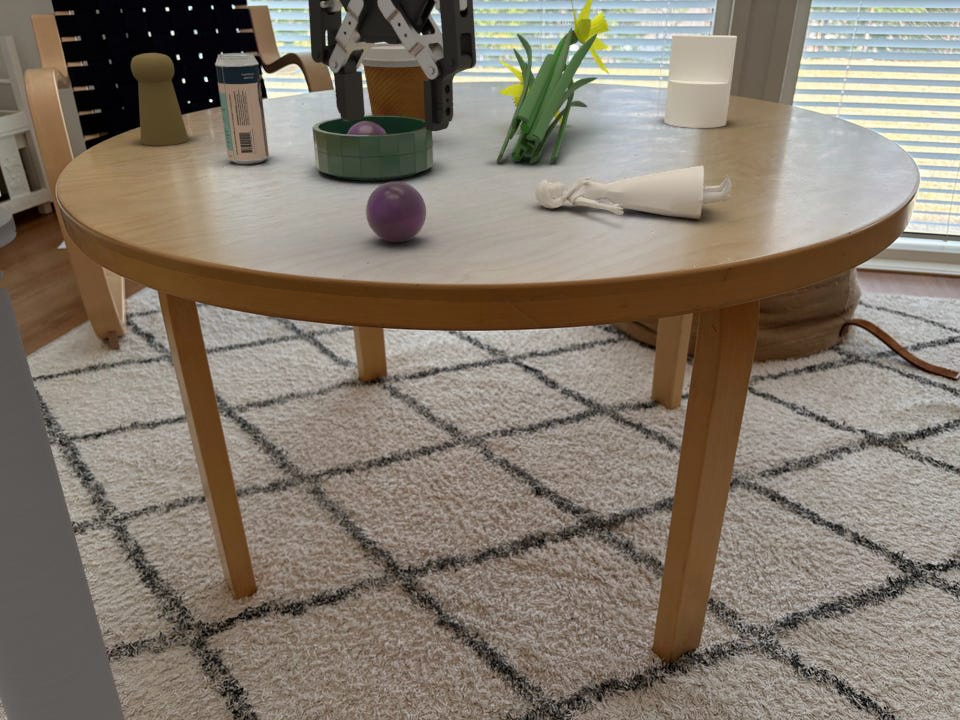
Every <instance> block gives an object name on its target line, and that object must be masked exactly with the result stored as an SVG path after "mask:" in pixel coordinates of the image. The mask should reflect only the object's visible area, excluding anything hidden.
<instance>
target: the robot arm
mask: <svg viewBox="0 0 960 720" xmlns="http://www.w3.org/2000/svg"><path fill="white" fill-rule="evenodd" d="M307 2H308V17H309V18H308V19H309V37H310V56H311V59H312V61H313V62H314V63H316V64H320V63H322V64H323V65H324V66H327V67H328V68H329V69H330V71H331V72H332V74H333V80H334V92H335V102H336V108H337V112H338V113H339V115H340V118H341V119H342V120H343V121H349V122H352V121H356V120H361V119H363V118H364V116H366V114H365V113H366V112H365V99H364V85H363V84H364V83H363V82H364V81H363V71H359V70H358V69H360V67H361V65H362V61H363V58H364V56H365V54H366V52H367V51H368V50H369V49H370V48H371V47H373V45H374V44H381V43H388V44H403V45H404V47H405V49H406V50H407V52H408V53H409V54H411V55H413V56H414V57H415V58H416V60H417V61H418V63H419V65H420V66H421V68H422V70H423V71H424V73H425V75H426V76H427V77H428V80H424V81H423V85H424V110H425V127H426V129H427V130H428V131H432V132H440V131H443V130H446V129H448V127H449V125H450V123H451V122H453V121H452V120H453V119H454V118H453V117H454V90H453V89H454V87H453V86H454V85H453V84H454V83H453V81H454V77H455V76H456V75H457V74H458V73H459V74H460V73H461V72H464V71H466V70H470V69H473V68H474V67H475V66H476V65H477V50H476V49H477V47H476V46H477V45H476V34H475V33H476V32H475V15H474V0H308V1H307ZM342 8H343V9H344V11H345V16H344V18H343V20H342ZM434 8H435V10H436V11H437V12H438V13H439V15H440V26H441V27H440V28H441V30H440V28H439V27H438V24H437V23H436V21H435V19H434V18H433V16H432V15H431V13H432V12H433V10H434ZM326 38H327V39H326Z"/></svg>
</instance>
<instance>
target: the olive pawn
mask: <svg viewBox="0 0 960 720" xmlns="http://www.w3.org/2000/svg"><path fill="white" fill-rule="evenodd" d="M130 70H131V73H132V75H133V77H134V78H135V80H136V81H137V83H138V84H137V86H138V107H139V108H138V109H139V129H140V131H139V132H140V143H141V144H142V145H145V146H158V147H159V146H171V145H172V146H173V145H180V144H182V143H186V142H188V141H190V139H189V136H188V132H187V129H186V125H185V122H184V119H183V115H182V112H181V108H180V103H179V101H178V98H177V94H176V91H175V87H174V84H173V81H172V80H173V78H174V76H175V65H174V62H173V60H172V58H171V57H170V56H168V55H167V54H163V53H159V52H148V53H147V52H146V53H145V52H144V53H140V54H138V55H137V54H136V55H135V56H133V57H132V59H131V61H130Z"/></svg>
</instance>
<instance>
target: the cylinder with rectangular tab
mask: <svg viewBox="0 0 960 720" xmlns="http://www.w3.org/2000/svg"><path fill="white" fill-rule="evenodd" d="M737 43H738V36H737V35H722V34H721V35H720V34H719V35H718V34H716V35H715V34H677V33H676V34H672V35H671V45H670V54H669V66H668V77H667V87H666V97H665V108H664V119H663V122H664V123H665V124H666V125H670V126H674V127H680V128H690V129H712V128H713V129H714V128H721V127H725V126H726V125H727V119H728V112H729V104H730V98H731V97H730V96H731V91H732V90H731V89H732V82H733V81H732V80H733V74H734V73H733V72H734V65H735V57H736V49H737Z"/></svg>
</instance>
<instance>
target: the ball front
mask: <svg viewBox="0 0 960 720" xmlns="http://www.w3.org/2000/svg"><path fill="white" fill-rule="evenodd" d="M365 216H366V221H367V223H368V226H369V228H370V230H372V232H373V233H374V234H375V235H376V236H377V237H379V238H380V239H381V240H384V241H386V242H389V243H403V242H407V241H410V240H412V239H413V238H414V237H416V236H417V235H418V234H419V233H420V231H421V230H422V229H423V227H424V225H425V224H426V223H425V222H426V219H427V207H426V202H425V199H424V198H423V195H421V193H420V192H419V191H418V190H417V188H415V187H414V186H412V185H411V184H408V183H405V182H402V181H397V180H396V181H388V182H385V183H383V184H381V185H379V186H378V187H376V188H375V189H374V190H373V191H372V192H371V194H370V196H369V198H368V200H367V203H366V207H365Z"/></svg>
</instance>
